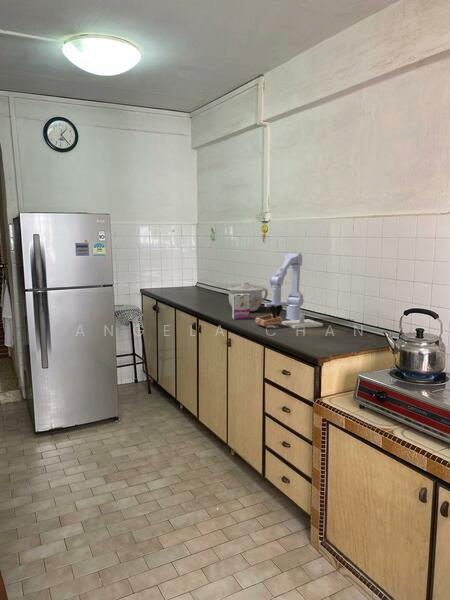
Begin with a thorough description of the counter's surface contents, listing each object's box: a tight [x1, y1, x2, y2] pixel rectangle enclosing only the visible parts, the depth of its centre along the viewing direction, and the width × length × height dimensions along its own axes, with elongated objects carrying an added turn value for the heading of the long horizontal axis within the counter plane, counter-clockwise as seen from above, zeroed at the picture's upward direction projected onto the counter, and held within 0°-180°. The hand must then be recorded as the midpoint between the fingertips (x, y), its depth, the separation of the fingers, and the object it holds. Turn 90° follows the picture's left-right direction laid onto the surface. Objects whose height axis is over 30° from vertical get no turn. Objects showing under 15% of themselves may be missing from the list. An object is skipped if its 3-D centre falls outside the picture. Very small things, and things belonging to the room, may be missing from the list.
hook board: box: [280, 313, 324, 329], centre depth 283 cm, size 16×20×6 cm
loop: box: [254, 313, 283, 327], centre depth 277 cm, size 12×12×3 cm
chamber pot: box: [226, 282, 269, 313], centre depth 332 cm, size 28×28×21 cm
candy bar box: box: [231, 294, 251, 321], centre depth 301 cm, size 11×5×16 cm, turn 106°
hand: (275, 317), depth 279 cm, fingers closed on loop, 2 cm apart
